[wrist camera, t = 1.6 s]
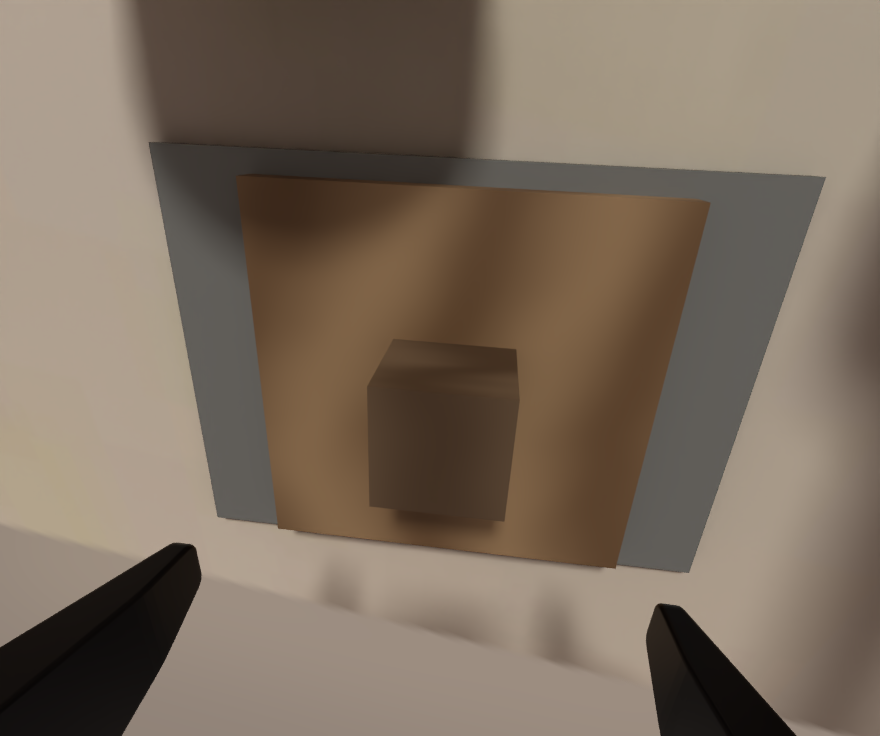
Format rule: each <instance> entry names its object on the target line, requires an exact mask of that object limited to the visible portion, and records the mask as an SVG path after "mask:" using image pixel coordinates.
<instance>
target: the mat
mask: <svg viewBox="0 0 880 736" xmlns="http://www.w3.org/2000/svg"><path fill="white" fill-rule="evenodd" d="M149 147H150V153H151V158H152V163H153V169H154V174H155V180H156V185H157V191H158V196H159V201H160V207H161V212H162V218H163V223H164V229H165V234H166V239H167V245H168V250H169V256H170V261H171V267H172V272H173V277H174V283H175V288H176V294H177V299H178V304H179V310H180V315H181V321H182V326H183V332H184V337H185V342H186V348H187V353H188V359H189V364H190V370H191V375H192V380H193V386H194V391H195V397H196V402H197V408H198V413H199V418H200V424H201V429H202V435H203V440H204V446H205V451H206V456H207V462H208V467H209V473H210V478H211V484H212V489H213V494H214V500H215V505H216V511H217V516H218V517H221V518H230V519H238V520H247V521H255V522H264V523H272V524H278V523H277V515H276V506H275V498H274V490H273V481H272V473H271V465H270V456H269V448H268V440H267V432H266V423H265V415H264V407H263V398H262V390H261V382H260V373H259V365H258V357H257V348H256V340H255V332H254V324H253V315H252V307H251V299H250V290H249V282H248V274H247V265H246V257H245V249H244V240H243V232H242V224H241V216H240V207H239V199H238V191H237V182H236V176H238V175H245V174H264V175H282V176H300V177H318V178H335V179H353V180H371V181H389V182H407V183H424V184H442V185H460V186H478V187H495V188H513V189H531V190H549V191H566V192H584V193H602V194H620V195H637V196H655V197H673V198H691V199H700V200H703V201H707V202H710V203H711V204H710V208H709V212H708V215H707V219H706V223H705V227H704V231H703V235H702V238H701V242H700V246H699V250H698V254H697V258H696V261H695V265H694V269H693V273H692V277H691V281H690V284H689V288H688V292H687V296H686V300H685V304H684V308H683V311H682V315H681V319H680V323H679V327H678V331H677V334H676V338H675V342H674V346H673V350H672V354H671V357H670V361H669V365H668V369H667V373H666V377H665V380H664V384H663V388H662V392H661V396H660V400H659V403H658V407H657V411H656V415H655V419H654V423H653V427H652V430H651V434H650V438H649V442H648V446H647V450H646V453H645V457H644V461H643V465H642V469H641V473H640V476H639V480H638V484H637V488H636V492H635V496H634V499H633V503H632V507H631V511H630V515H629V519H628V522H627V526H626V530H625V534H624V538H623V542H622V545H621V549H620V553H619V557H618V561H617V564H619V565H627V566H636V567H644V568H652V569H661V570H669V571H678V572H686V573H689V571H690V568H691V565H692V562H693V559H694V557H695V554H696V551H697V548H698V545H699V542H700V539H701V536H702V533H703V531H704V528H705V525H706V522H707V519H708V516H709V513H710V510H711V508H712V505H713V502H714V499H715V496H716V493H717V490H718V487H719V484H720V482H721V479H722V476H723V473H724V470H725V467H726V464H727V461H728V458H729V456H730V453H731V450H732V447H733V444H734V441H735V438H736V435H737V432H738V430H739V427H740V424H741V421H742V418H743V415H744V412H745V409H746V406H747V404H748V401H749V398H750V395H751V392H752V389H753V386H754V383H755V380H756V378H757V375H758V372H759V369H760V366H761V363H762V360H763V357H764V354H765V352H766V349H767V346H768V343H769V340H770V337H771V334H772V331H773V328H774V326H775V323H776V320H777V317H778V314H779V311H780V308H781V305H782V302H783V300H784V297H785V294H786V291H787V288H788V285H789V282H790V279H791V277H792V274H793V271H794V268H795V265H796V262H797V259H798V256H799V253H800V251H801V248H802V245H803V242H804V239H805V236H806V233H807V230H808V227H809V225H810V222H811V219H812V216H813V213H814V210H815V207H816V204H817V201H818V199H819V196H820V193H821V190H822V187H823V184H824V181H825V178H826V177H817V176H800V175H781V174H761V173H742V172H723V171H703V170H684V169H664V168H645V167H626V166H606V165H587V164H567V163H548V162H529V161H509V160H490V159H470V158H451V157H432V156H412V155H393V154H373V153H354V152H335V151H315V150H296V149H276V148H257V147H238V146H218V145H199V144H179V143H160V142H149Z"/></svg>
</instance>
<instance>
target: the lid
mask: <svg viewBox="0 0 880 736" xmlns="http://www.w3.org/2000/svg"><path fill="white" fill-rule="evenodd" d="M236 182H237V191H238V199H239V207H240V216H241V224H242V232H243V240H244V249H245V257H246V265H247V274H248V282H249V290H250V299H251V307H252V315H253V324H254V332H255V340H256V348H257V357H258V365H259V373H260V382H261V390H262V398H263V407H264V415H265V423H266V432H267V440H268V448H269V456H270V465H271V473H272V481H273V490H274V498H275V506H276V515H277V523H278V528H279V529H287V530H296V531H304V532H312V533H321V534H329V535H338V536H346V537H354V538H363V539H371V540H380V541H388V542H396V543H405V544H413V545H422V546H430V547H438V548H447V549H455V550H464V551H472V552H480V553H489V554H497V555H506V556H514V557H522V558H531V559H539V560H548V561H556V562H564V563H573V564H581V565H590V566H598V567H606V568H615V569H616V565H617V561H618V557H619V553H620V549H621V545H622V542H623V538H624V534H625V530H626V526H627V522H628V519H629V515H630V511H631V507H632V503H633V499H634V496H635V492H636V488H637V484H638V480H639V476H640V473H641V469H642V465H643V461H644V457H645V453H646V450H647V446H648V442H649V438H650V434H651V430H652V427H653V423H654V419H655V415H656V411H657V407H658V403H659V400H660V396H661V392H662V388H663V384H664V380H665V377H666V373H667V369H668V365H669V361H670V357H671V354H672V350H673V346H674V342H675V338H676V334H677V331H678V327H679V323H680V319H681V315H682V311H683V308H684V304H685V300H686V296H687V292H688V288H689V284H690V281H691V277H692V273H693V269H694V265H695V261H696V258H697V254H698V250H699V246H700V242H701V238H702V235H703V231H704V227H705V223H706V219H707V215H708V212H709V208H710V204H711V203H710V202H707V201H703V200H700V199H691V198H673V197H655V196H637V195H620V194H602V193H584V192H566V191H549V190H531V189H513V188H495V187H478V186H460V185H442V184H424V183H407V182H389V181H371V180H353V179H335V178H318V177H300V176H282V175H264V174H245V175H238V176H236Z"/></svg>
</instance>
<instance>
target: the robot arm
mask: <svg viewBox="0 0 880 736" xmlns="http://www.w3.org/2000/svg"><path fill="white" fill-rule="evenodd" d="M200 582H201V569H200V565H199V560H198V556H197V551H196V548H195V547H194V546H193V545H191V544H184V543H172V544H170V545H168V546H166V547H165V548H163V549H161V550H160V551H158V552H156V553H155V554H153V555H151V556H150V557H148V558H146V559H145V560H143V561H142V562H140V563H138V564H137V565H135V566H133V567H132V568H130V569H129V570H127V571H125V572H123V573H122V574H120V575H118V576H117V577H115V578H114V579H112V580H110V581H109V582H107V583H105V584H104V585H102V586H100V587H99V588H97V589H95V590H94V591H92V592H91V593H89V594H88V595H86V596H84V597H82V598H81V599H79V600H77V601H76V602H74V603H72V604H71V605H69V606H67V607H66V608H64V609H63V610H61V611H59V612H58V613H56V614H54V615H53V616H51V617H50V618H48V619H46V620H44V621H43V622H42V623H39V624H38V625H36V626H35V627H33V628H31V629H30V630H28V631H26V632H25V633H23V634H21V635H20V636H18V637H16V638H15V639H13V640H11V641H10V642H8V643H7V644H5V645H4V646H2V647H0V736H122V734H123V733H124V731H125V729H126V727H127V725H128V724H129V722H130V720H131V719H132V717H133V715H134V714H135V712H136V710H137V708H138V707H139V705H140V703H141V702H142V700H143V698H144V696H145V695H146V693H147V691H148V689H149V688H150V685H151V684H152V683H153V681H154V679H155V677H156V675H157V674H158V672H159V670H160V668H161V667H162V665H163V663H164V661H165V659H166V657H167V655H168V653H169V651H170V648H171V647H172V644H173V642H174V640H175V638H176V636H177V633H178V631H179V629H180V627H181V625H182V623H183V621H184V618H185V616H186V614H187V612H188V610H189V608H190V605H191V603H192V601H193V598H194V597H195V595H196V592H197V590H198V588H199V585H200ZM646 646H647V653H648V659H649V666H650V672H651V679H652V685H653V691H654V698H655V704H656V710H657V717H658V723H659V729H660V735H661V736H796V735H795V733H794V732H793V731H792V730H791V729H790V728H789V727H788V726H787V724H786V723H785V722H784V721H783V720H782V719H781V718H780V717H779V715H778V714H777V713H776V712H775V711H774V710H773V709H772V708H771V707H770V705H769V704H768V703H767V702H766V701H765V700H764V699H763V698H762V696H761V695H760V694H759V693H758V692H757V691H756V690H755V689H754V687H753V686H752V685H751V684H750V683H749V682H748V681H747V680H746V678H745V677H744V676H743V675H742V674H741V673H740V672H739V671H738V669H737V668H736V667H735V666H734V665H733V664H732V663H731V662H730V661H729V659H728V658H727V657H726V656H725V655H724V654H723V653H722V652H721V650H720V649H719V648H718V647H717V646H716V645H715V644H714V643H713V641H712V640H711V639H710V638H709V637H708V636H707V635H706V634H705V632H704V631H703V630H702V629H701V628H700V627H699V626H698V625H697V624H696V622H695V621H694V620H693V619H692V618H691V617H690V616H689V615H688V613H687V612H686V611H685V610H684V609H683V608H681V607H680V606H677V605H669V604H657V605H656V607H655V609H654V612H653V615H652V618H651V621H650V624H649V627H648V630H647V635H646Z"/></svg>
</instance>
